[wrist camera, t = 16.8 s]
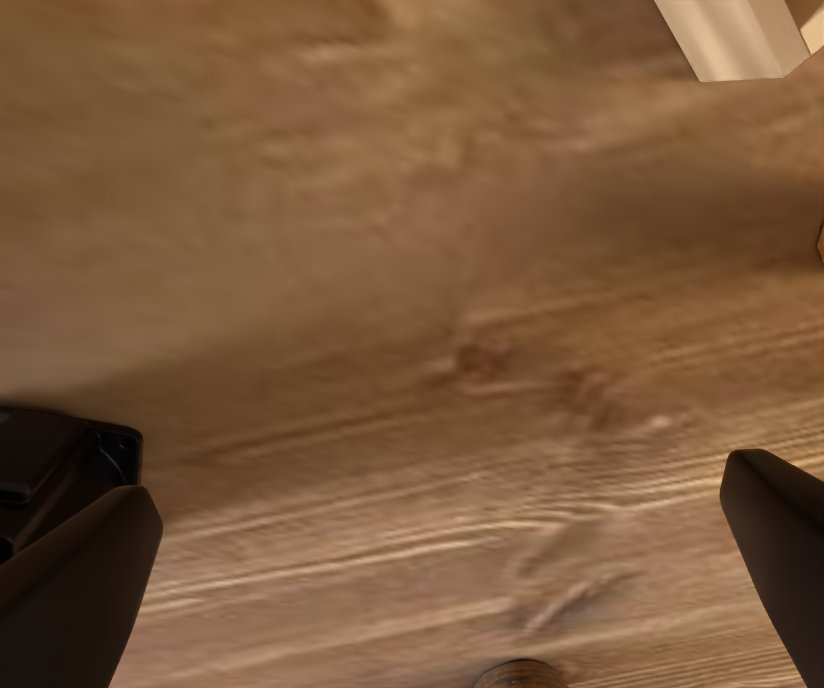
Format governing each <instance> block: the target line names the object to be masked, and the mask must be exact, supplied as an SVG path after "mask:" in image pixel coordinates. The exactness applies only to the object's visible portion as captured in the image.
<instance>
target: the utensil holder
mask: <svg viewBox="0 0 824 688" xmlns="http://www.w3.org/2000/svg"><path fill="white" fill-rule="evenodd" d="M473 688H568V686H567V684H566V682H565V680H564V679H563V677H562V676H561V674H560V673H559V672H558V671H557V670H555V669H554V668H552V667H551V666H549V665H546V664H544V663H540V662H535V661H516V662H510V663H506V664H503V665H500V666H498V667H495V668H493V669H491V670H490V671H488V672H487V673H485V674H484V675H483V676H482V677H481V678H480V679H479V680H478V681H477V682H476V684H475V685H474V687H473Z"/></svg>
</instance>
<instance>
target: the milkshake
mask: <svg viewBox="0 0 824 688" xmlns="http://www.w3.org/2000/svg"><path fill="white" fill-rule="evenodd" d="M817 248H818V250H819V253H820V255H821V257H822V260H823V262H824V225H823V228H822V231H821V234H820V238H819V241H818V244H817Z"/></svg>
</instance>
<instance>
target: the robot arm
mask: <svg viewBox="0 0 824 688" xmlns="http://www.w3.org/2000/svg"><path fill="white" fill-rule="evenodd" d="M125 439H129V440H131V441H132V442H133V443H129V442H127V441H126V440H125ZM142 453H143V436H142V435H141V433H140V432H138V431H137V430H135V429H131V428H126V427H120V426H114V425H108V424H103V423H97V422H91V421H85V420H80V419H74V418H68V417H62V416H56V415H51V414H45V413H39V412H33V411H27V410H21V409H15V408H9V407H4V406H0V688H108V687H109V685H110V682H111V680H112V678H113V675H114V673H115V670H116V668H117V666H118V663H119V661H120V659H121V656H122V654H123V652H124V649H125V647H126V644H127V642H128V639H129V637H130V634H131V632H132V629H133V626H134V623H135V620H136V617H137V615H138V611H139V608H140V605H141V602H142V599H143V596H144V592H145V589H146V586H147V583H148V580H149V576H150V573H151V570H152V567H153V564H154V561H155V557H156V554H157V551H158V548H159V545H160V542H161V538H162V534H163V524H162V520H161V517H160V515H159V513H158V511H157V509H156V507H155V504H154V502H153V500H152V498H151V496H150V494H149V492H148V490H147V489H146V488H145V487H144V486H140V482H141V468H142ZM720 502H721V506H722V509H723V511H724V514H725V516H726V518H727V521H728V523H729V526H730V528H731V530H732V533H733V535H734V538H735V540H736V542H737V545H738V547H739V549H740V552H741V554H742V557H743V559H744V561H745V564H746V566H747V569H748V571H749V573H750V576H751V578H752V581H753V583H754V585H755V588H756V590H757V592H758V595H759V597H760V599H761V601H762V603H763V606H764V608H765V610H766V612H767V614H768V616H769V618H770V619H771V621H772V623H773V625H774V627H775V629H776V631H777V633H778V634H779V636H780V638H781V640H782V642H783V644H784V645H785V647H786V649H787V651H788V653H789V655H790V656H791V658H792V660H793V662H794V664H795V666H796V667H797V669H798V671H799V673H800V675H801V677H802V678H803V680H804V682H805V684H806V686H807V688H824V482H823V481H821V480H820V479H818V478H816V477H814V476H812V475H810V474H809V473H807V472H805V471H803V470H801V469H799V468H798V467H796V466H794V465H792V464H790V463H788V462H786V461H785V460H783V459H781V458H779V457H777V456H775V455H774V454H772V453H770V452H768V451H766V450H763V449H742V450H734V451H732V452H731V453H730V454H729V456H728V458H727V462H726V466H725V471H724V475H723V479H722V484H721V488H720Z"/></svg>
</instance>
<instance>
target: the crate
mask: <svg viewBox="0 0 824 688" xmlns="http://www.w3.org/2000/svg"><path fill="white" fill-rule="evenodd" d="M654 1H655V3H656V5H657V7H658V8H659V10H660V12H661V14H662V15H663V17H664V19H665V21H666V22H667V24H668V26H669V28H670V30H671V31H672V33H673V35H674V37H675V38H676V40H677V42H678V44H679V45H680V47H681V49H682V51H683V53H684V54H685V56H686V58H687V60H688V61H689V63H690V65H691V67H692V68H693V70H694V72H695V74H696V76H697V77H698V79H699V81H700V82H714V81H732V80H751V79H770V78H784V77H786V76H787V75H788V74H789V73H791V72H792V71H793V70H794V69H795V68H797V67H798V66H799V65H800V64H802V63H803V62H804V61H805V60H806V59H808V58H809V57H810V55H813V54H814V53H815V52H816V51H818V50H819V49H820V48H821V47H822V46H824V0H654Z"/></svg>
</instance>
